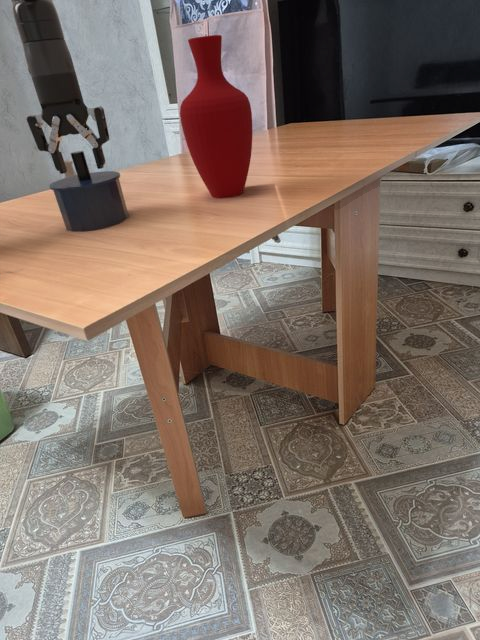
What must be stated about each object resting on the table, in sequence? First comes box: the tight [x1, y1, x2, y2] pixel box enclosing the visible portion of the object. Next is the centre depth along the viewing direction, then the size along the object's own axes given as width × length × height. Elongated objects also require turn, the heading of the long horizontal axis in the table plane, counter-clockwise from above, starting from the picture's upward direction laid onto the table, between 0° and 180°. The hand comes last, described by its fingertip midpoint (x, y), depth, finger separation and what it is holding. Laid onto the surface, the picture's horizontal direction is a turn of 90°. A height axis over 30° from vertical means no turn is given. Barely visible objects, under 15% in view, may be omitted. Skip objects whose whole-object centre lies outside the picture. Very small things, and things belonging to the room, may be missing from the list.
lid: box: [48, 150, 121, 191], centre depth 91 cm, size 14×14×6 cm
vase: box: [179, 34, 253, 199], centre depth 97 cm, size 15×15×30 cm
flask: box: [62, 160, 77, 179], centre depth 111 cm, size 7×7×10 cm
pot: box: [52, 178, 129, 233], centre depth 94 cm, size 13×13×8 cm
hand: (82, 170), depth 91 cm, fingers open, 7 cm apart
